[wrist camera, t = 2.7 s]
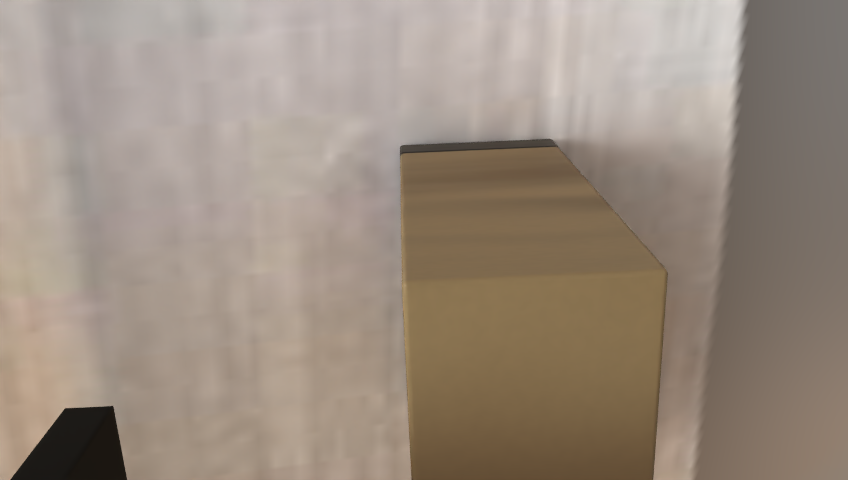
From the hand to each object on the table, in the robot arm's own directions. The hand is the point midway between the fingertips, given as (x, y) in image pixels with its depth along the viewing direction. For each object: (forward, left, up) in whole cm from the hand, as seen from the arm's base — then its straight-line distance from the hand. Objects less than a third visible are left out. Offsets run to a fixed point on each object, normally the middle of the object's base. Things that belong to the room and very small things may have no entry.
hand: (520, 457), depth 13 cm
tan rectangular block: (0, 0, -7) cm, 7 cm away
